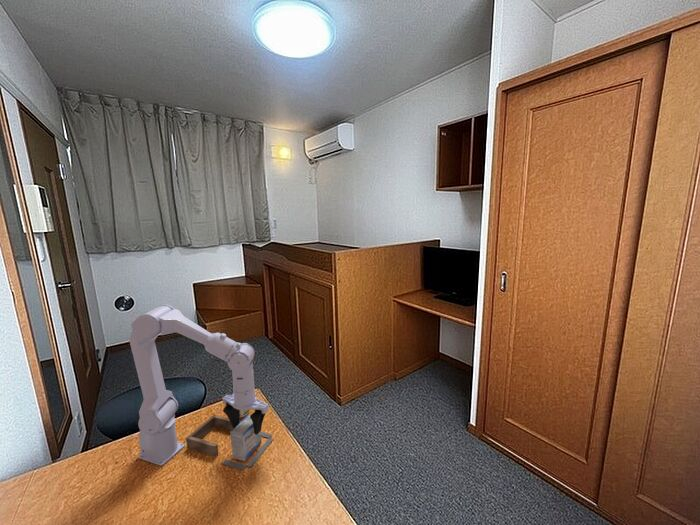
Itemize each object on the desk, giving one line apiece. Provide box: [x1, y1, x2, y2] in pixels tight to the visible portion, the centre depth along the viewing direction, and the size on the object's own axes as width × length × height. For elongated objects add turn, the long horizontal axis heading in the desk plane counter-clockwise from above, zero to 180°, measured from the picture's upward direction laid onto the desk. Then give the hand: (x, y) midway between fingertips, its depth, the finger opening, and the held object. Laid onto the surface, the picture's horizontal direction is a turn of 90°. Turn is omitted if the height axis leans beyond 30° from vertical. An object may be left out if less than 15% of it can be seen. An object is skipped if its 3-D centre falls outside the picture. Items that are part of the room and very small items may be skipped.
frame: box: [221, 431, 274, 471], centre depth 89 cm, size 8×14×1 cm, turn 161°
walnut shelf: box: [185, 414, 242, 458], centre depth 93 cm, size 11×11×4 cm
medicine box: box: [229, 414, 262, 462], centre depth 89 cm, size 8×4×9 cm, turn 161°
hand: (246, 429), depth 89 cm, fingers open, 7 cm apart
